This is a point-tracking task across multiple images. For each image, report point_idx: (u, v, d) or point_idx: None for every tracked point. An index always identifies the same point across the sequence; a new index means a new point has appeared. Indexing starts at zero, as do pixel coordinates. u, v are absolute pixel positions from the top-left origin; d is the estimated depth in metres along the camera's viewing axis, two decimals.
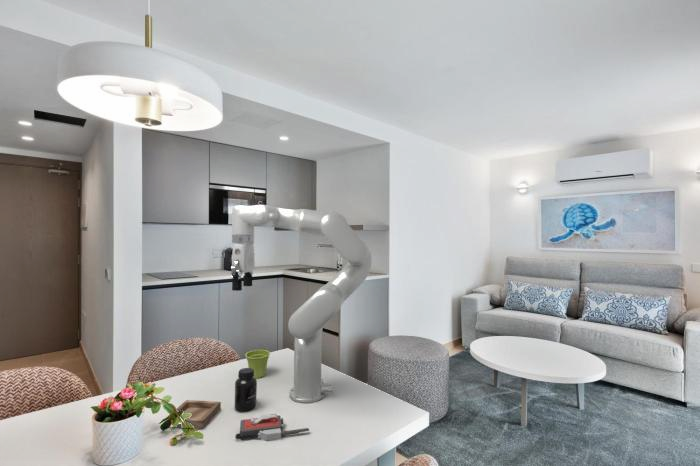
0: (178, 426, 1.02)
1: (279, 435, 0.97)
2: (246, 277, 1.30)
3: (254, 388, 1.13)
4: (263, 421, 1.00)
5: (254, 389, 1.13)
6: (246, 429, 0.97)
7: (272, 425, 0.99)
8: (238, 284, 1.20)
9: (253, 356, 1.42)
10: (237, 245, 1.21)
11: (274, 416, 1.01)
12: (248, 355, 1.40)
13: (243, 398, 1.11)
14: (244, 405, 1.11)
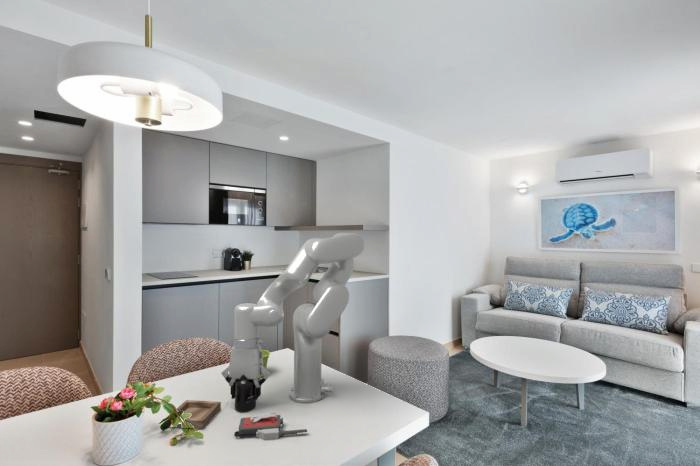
0: (178, 426, 1.02)
1: (277, 435, 0.97)
2: None
3: None
4: (263, 420, 1.01)
5: None
6: (245, 427, 0.98)
7: (271, 424, 0.99)
8: None
9: None
10: (259, 348, 1.13)
11: (273, 415, 1.01)
12: None
13: (243, 398, 1.11)
14: (244, 405, 1.11)
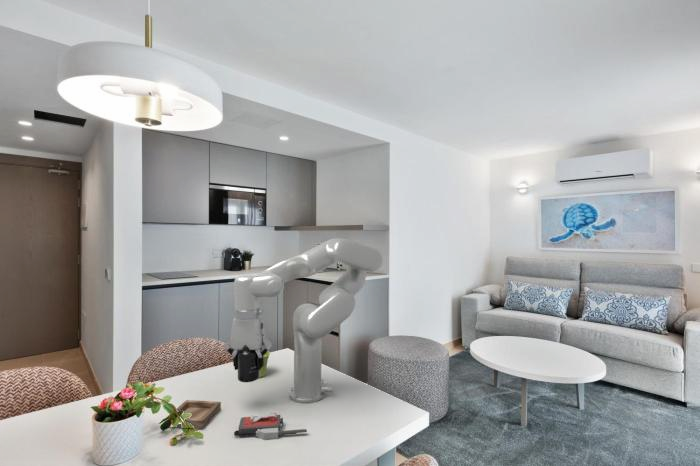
0: (178, 426, 1.02)
1: (276, 434, 0.97)
2: None
3: (256, 359, 1.13)
4: (263, 420, 1.01)
5: None
6: (245, 427, 0.98)
7: (270, 424, 0.99)
8: None
9: None
10: (260, 319, 1.13)
11: (273, 415, 1.02)
12: None
13: (246, 368, 1.11)
14: (247, 375, 1.11)
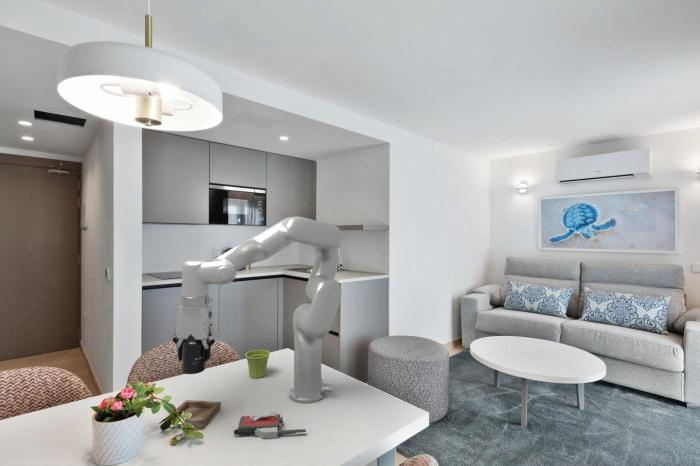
0: (178, 426, 1.02)
1: (275, 434, 0.97)
2: None
3: (202, 349, 1.06)
4: (262, 419, 1.02)
5: None
6: (244, 426, 0.99)
7: (270, 423, 1.00)
8: None
9: (253, 356, 1.42)
10: (208, 307, 1.06)
11: (273, 415, 1.02)
12: (248, 355, 1.40)
13: (190, 359, 1.04)
14: (191, 366, 1.04)
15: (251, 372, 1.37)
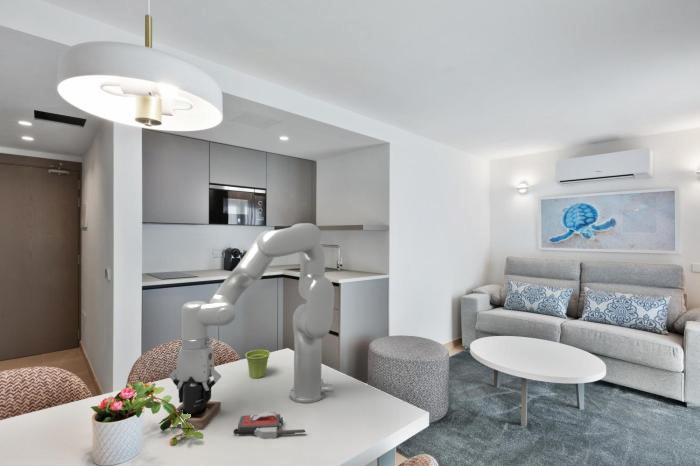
0: (178, 426, 1.02)
1: (274, 434, 0.97)
2: None
3: None
4: (262, 419, 1.02)
5: None
6: (244, 425, 0.99)
7: (269, 423, 1.00)
8: None
9: (253, 356, 1.42)
10: (208, 349, 1.07)
11: (272, 414, 1.02)
12: (248, 355, 1.40)
13: (191, 402, 1.04)
14: (192, 409, 1.04)
15: (251, 372, 1.37)
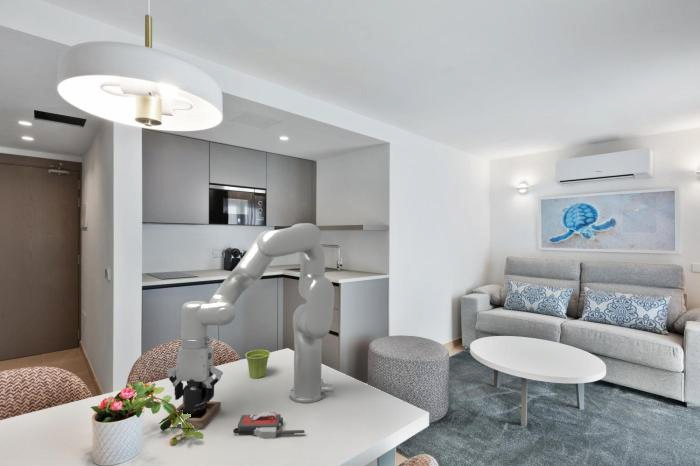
0: (178, 426, 1.02)
1: (274, 434, 0.97)
2: (179, 387, 1.07)
3: (203, 395, 1.06)
4: (262, 419, 1.02)
5: (203, 395, 1.06)
6: (244, 424, 0.99)
7: (269, 423, 1.00)
8: None
9: (253, 356, 1.42)
10: (208, 349, 1.06)
11: (272, 414, 1.02)
12: (248, 355, 1.40)
13: (191, 405, 1.04)
14: (192, 413, 1.04)
15: (251, 372, 1.37)
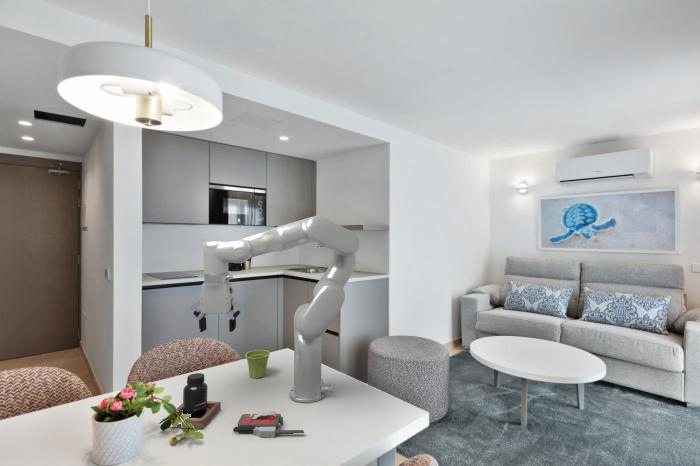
0: (178, 426, 1.02)
1: (273, 433, 0.97)
2: (203, 321, 1.15)
3: (203, 395, 1.06)
4: (262, 418, 1.02)
5: (204, 395, 1.06)
6: (244, 423, 1.00)
7: (268, 423, 1.00)
8: None
9: (253, 356, 1.42)
10: (229, 284, 1.15)
11: (272, 414, 1.02)
12: (248, 355, 1.40)
13: (191, 405, 1.04)
14: (192, 413, 1.04)
15: (251, 372, 1.37)
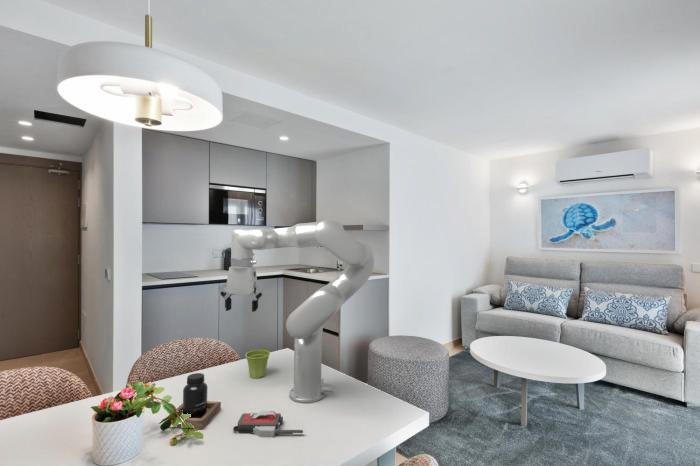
0: (178, 426, 1.02)
1: (272, 433, 0.98)
2: (229, 301, 1.27)
3: (203, 395, 1.06)
4: (262, 417, 1.03)
5: (203, 395, 1.06)
6: (244, 423, 1.00)
7: (268, 422, 1.01)
8: None
9: (253, 356, 1.42)
10: (253, 268, 1.27)
11: (272, 413, 1.03)
12: (248, 355, 1.40)
13: (191, 405, 1.04)
14: (192, 413, 1.04)
15: (251, 372, 1.37)
